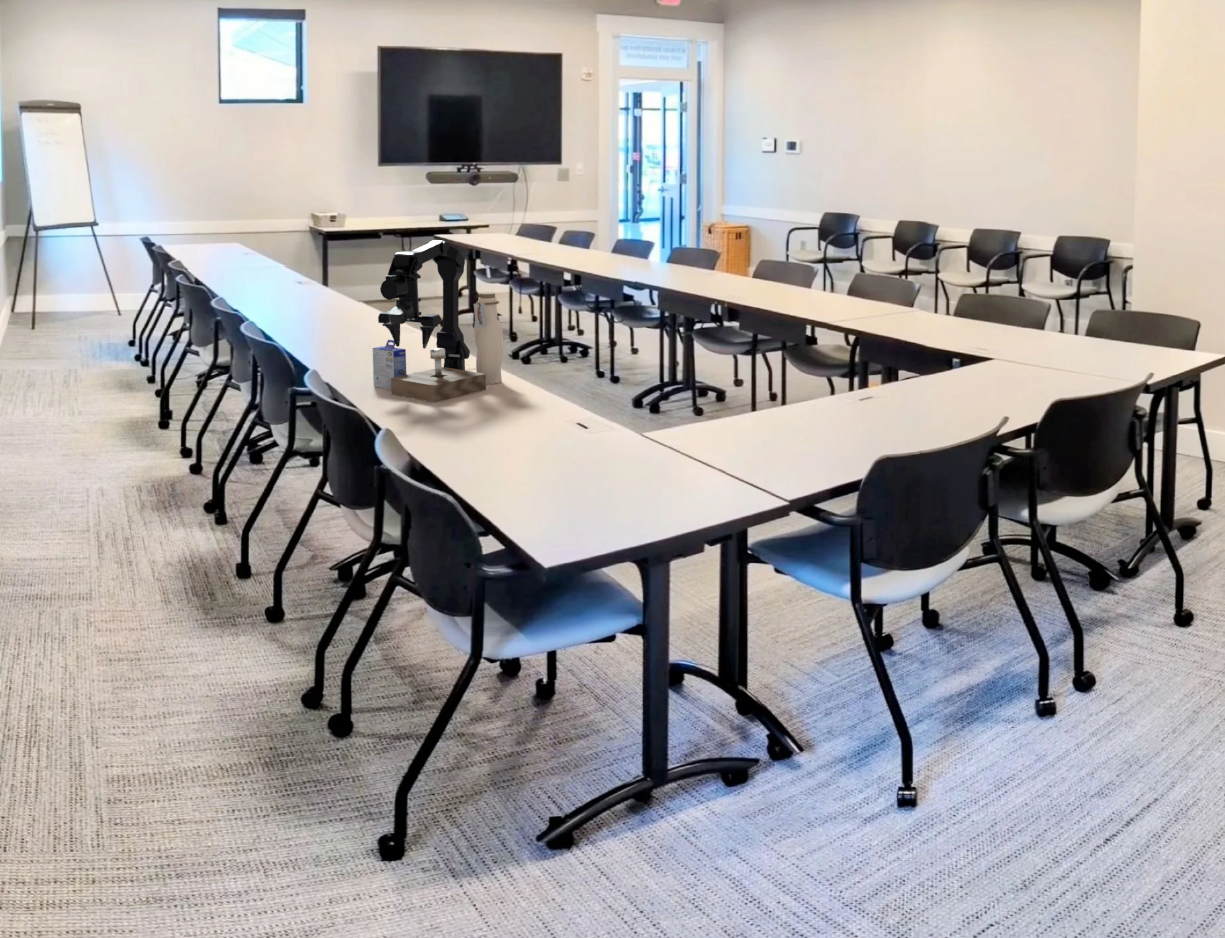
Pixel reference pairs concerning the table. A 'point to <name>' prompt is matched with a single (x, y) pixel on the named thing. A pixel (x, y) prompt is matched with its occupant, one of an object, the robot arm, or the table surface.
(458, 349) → the robot arm
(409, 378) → the press block
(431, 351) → the plunger
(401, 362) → the ink cartridge box
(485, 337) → the water bottle
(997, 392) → the table surface
